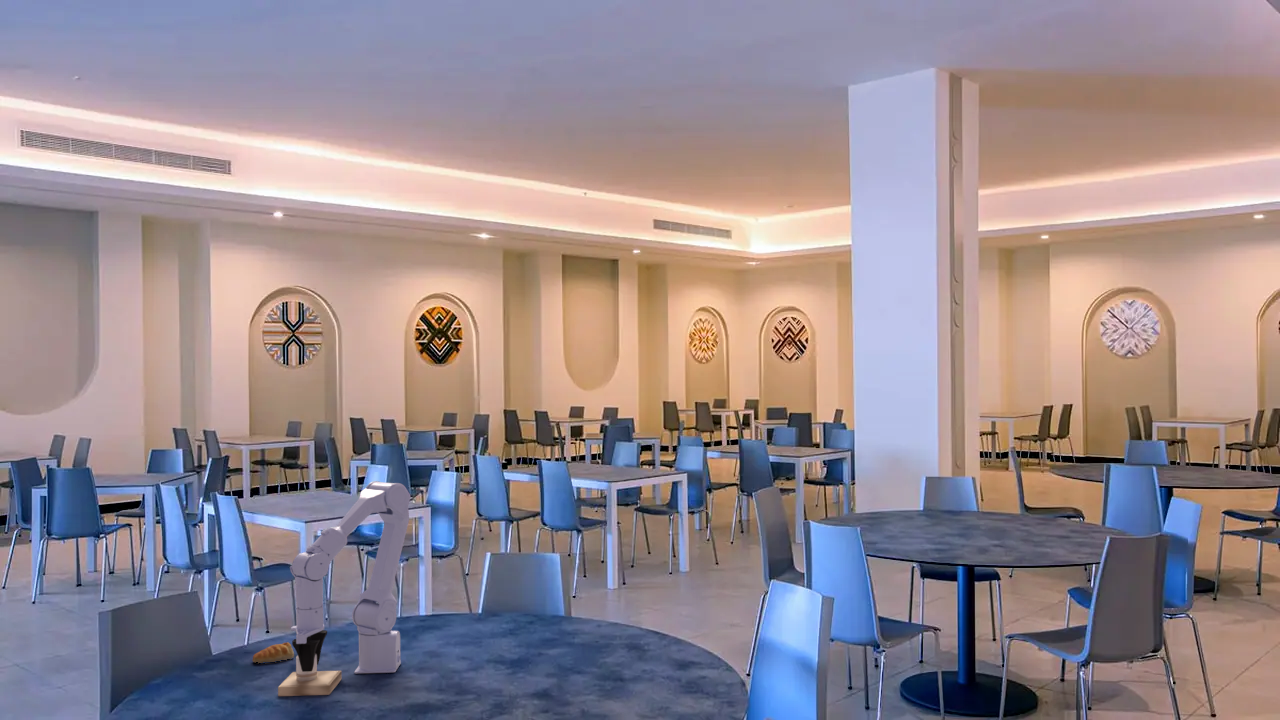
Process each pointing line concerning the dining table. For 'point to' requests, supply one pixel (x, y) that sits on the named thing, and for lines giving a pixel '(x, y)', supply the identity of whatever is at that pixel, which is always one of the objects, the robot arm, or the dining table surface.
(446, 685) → the dining table surface
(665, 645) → the dining table surface
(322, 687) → the base board
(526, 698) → the dining table surface
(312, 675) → the pot
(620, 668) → the dining table surface
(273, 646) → the pastry
